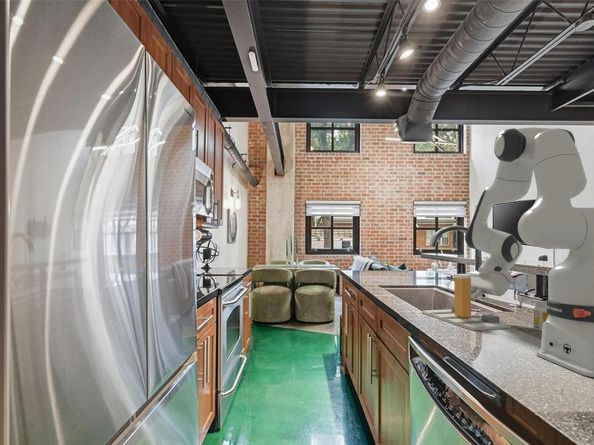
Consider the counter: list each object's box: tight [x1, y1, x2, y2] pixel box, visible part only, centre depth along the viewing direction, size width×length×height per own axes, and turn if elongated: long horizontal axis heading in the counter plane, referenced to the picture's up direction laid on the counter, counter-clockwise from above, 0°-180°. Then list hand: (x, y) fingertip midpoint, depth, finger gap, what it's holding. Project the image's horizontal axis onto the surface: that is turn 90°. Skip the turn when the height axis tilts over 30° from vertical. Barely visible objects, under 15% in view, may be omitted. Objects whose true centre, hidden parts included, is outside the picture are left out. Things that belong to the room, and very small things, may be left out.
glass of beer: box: [453, 273, 472, 318], centre depth 134 cm, size 4×4×16 cm
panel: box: [421, 305, 512, 331], centre depth 134 cm, size 28×16×3 cm, turn 15°
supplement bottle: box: [533, 300, 548, 332], centre depth 120 cm, size 5×5×10 cm
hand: (470, 298), depth 135 cm, fingers closed
